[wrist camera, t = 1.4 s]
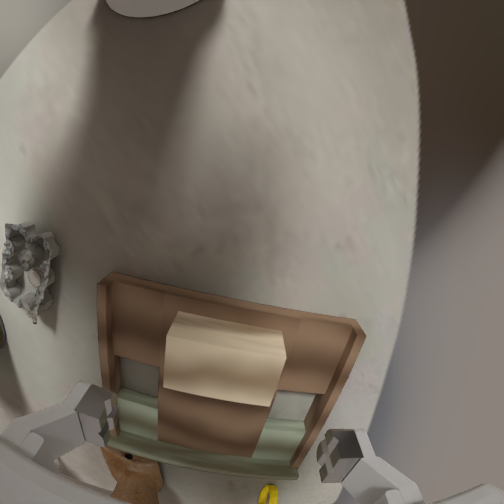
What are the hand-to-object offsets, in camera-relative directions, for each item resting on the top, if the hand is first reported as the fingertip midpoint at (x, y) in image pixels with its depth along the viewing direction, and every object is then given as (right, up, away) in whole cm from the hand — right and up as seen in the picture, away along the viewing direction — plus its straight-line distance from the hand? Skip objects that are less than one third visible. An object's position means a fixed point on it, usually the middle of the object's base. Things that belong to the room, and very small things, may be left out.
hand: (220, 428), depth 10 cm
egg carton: (-25, +5, +19) cm, 32 cm away
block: (-1, -3, +19) cm, 19 cm away
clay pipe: (-18, -30, +29) cm, 45 cm away
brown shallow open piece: (-3, -9, +23) cm, 25 cm away
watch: (+4, -34, +30) cm, 46 cm away
